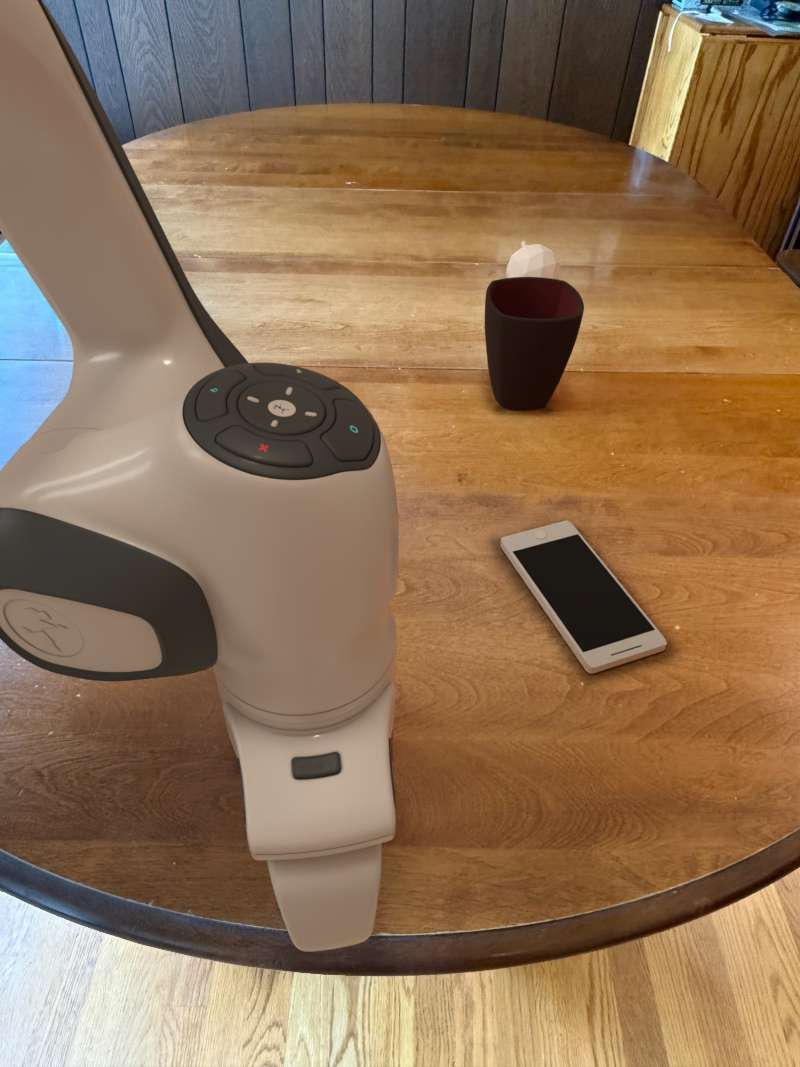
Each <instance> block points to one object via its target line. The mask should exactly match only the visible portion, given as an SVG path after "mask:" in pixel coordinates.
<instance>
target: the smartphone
mask: <svg viewBox="0 0 800 1067" xmlns="http://www.w3.org/2000/svg"><path fill="white" fill-rule="evenodd" d="M500 548H501V550H502V552H503V553H504V554H505V555H506V557H507V559H508V560H509V561H510V563H511V565H512V566H513V567H514V569H515V570H516V572H517V573H518V575H519V576H520V578H521V579H522V580H523V582H524V583H525V585H526V586H527V588H528V589H529V590H530V592H531V594H532V595H533V596H534V598H535V599H536V601H537V603H539V605H540V607H541V608H542V610H543V611H544V612H545V614H546V615H547V617H548V618H549V620H550V621H551V622H552V624H553V625H554V627H555V628H556V630H557V631H558V633H559V634H560V636H561V637H562V639H563V640H564V641H565V643H566V644H567V646H568V647H569V649H570V650H571V651H572V653H573V655H574V656H575V657H576V659H577V660H578V662H579V663H580V664H581V666H582V668H583V669H584V670H585V671H586V672H587V673H588V674H591V675H593V674H596V673H599V672H602V671H605V670H608V669H611V668H614V667H618V666H621V665H624V664H627V663H630V662H633V661H636V660H640V659H642V658H645V657H648V656H652V655H655V654H658V653H660V652H664V651H665V649H666V647H667V645H668V641H667V638H666V637H665V636H664V635H663V634H662V632H661V631H660V630H659V628H658V627H657V626H656V625H655V623H653V621H652V620H651V619H650V618H649V617H648V615H647V614H646V613H645V611H644V610H643V609H642V608H641V606H640V605H639V604H638V603H637V602H636V600H635V599H634V598H633V597H632V596H631V594H630V593H629V592H628V590H627V589H626V588H625V587H624V586H623V584H622V583H621V582H620V580H618V579H617V576H616V575H615V574H614V573H613V572H612V571H611V569H610V568H609V567H608V566H607V565H606V563H605V562H604V561H603V559H601V557H600V556H599V555H598V554H597V553H596V551H595V550H594V548H593V547H592V546H591V545H590V544H589V543H588V541H587V540H586V538H585V537H584V536H583V535H582V534H581V533H580V531H579V529H577V528H576V526H575V525H574V524H573V522H571V521H569V520H563V521H558V522H555V523H551V524H547V525H543V526H539V527H536V528H532V529H528V530H524V531H520V532H516V533H512V534H508V535H504V536H502V537H501V538H500Z"/></svg>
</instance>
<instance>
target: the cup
mask: <svg viewBox="0 0 800 1067" xmlns="http://www.w3.org/2000/svg"><path fill="white" fill-rule="evenodd" d="M484 300H485V301H484V337H485V351H486V361H487V362H486V363H487V368H488V375H489V381H490V386H491V390H492V394H493V397H494V399H495V401H496V403H497V404H498V405H499V407H500V408H502V409H504V410H509V411H517V412H518V411H520V412H529V411H537V410H541V409H545V408H546V407H547V405H548V403H549V402H550V400H551V398H553V395H554V394H555V391H556V390H557V388H558V386H559V383H560V382H561V379H562V377H563V375H564V372H565V370H566V367H567V365H568V363H569V361H570V358H571V355H572V353H573V350H574V348H575V345H576V342H577V339H578V335H579V332H580V329H581V324H582V321H583V318H584V317H583V316H584V311H585V303H584V300H583V297H582V296H581V294H580V292H579V291H578V290H577V289H576V288H575V287H574V286H573V285H571V284H570V283H569V282H567V281H566V280H562V279H559V280H557V279H551V278H541V277H513V278H506V277H505V278H500V279H499V278H498V279H495V280H492V281H490V282H489V284H488V286H487V288H486V291H485V299H484Z"/></svg>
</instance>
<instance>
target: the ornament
mask: <svg viewBox="0 0 800 1067" xmlns="http://www.w3.org/2000/svg"><path fill="white" fill-rule="evenodd" d="M520 246H521V247H520V248H519V249H517V250H516V251H514V252H513V253H511V257H510V258H509V261H508V263H507V265H506V271H505V274H506V276H505V278H513V277H541V278H551V279H557V280H560V272H561V271H560V269H561V268H560V267H561V266H560V265H561V263H560V261H559V259H558V258H557V256H556V254H555V253H554V251H553V250H551V249H550V248H548V247H546V246H544V245H542V244H540V243H535V244H527V241H526V240H522V241H521V243H520Z"/></svg>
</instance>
